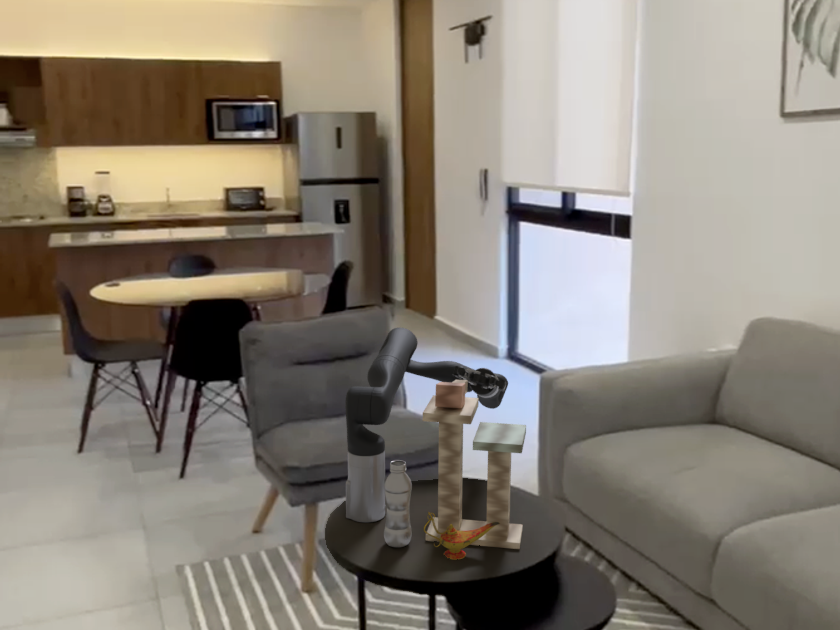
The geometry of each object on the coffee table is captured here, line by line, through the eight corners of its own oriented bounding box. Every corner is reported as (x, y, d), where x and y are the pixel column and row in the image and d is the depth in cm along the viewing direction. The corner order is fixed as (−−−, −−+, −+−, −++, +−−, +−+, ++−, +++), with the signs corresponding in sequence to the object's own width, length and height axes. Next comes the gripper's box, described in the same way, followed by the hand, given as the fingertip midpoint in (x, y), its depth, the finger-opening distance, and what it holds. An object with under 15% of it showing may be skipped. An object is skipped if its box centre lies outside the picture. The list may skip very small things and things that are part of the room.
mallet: (435, 406, 193) (435, 384, 193) (449, 395, 215) (450, 375, 215) (461, 408, 192) (462, 386, 192) (473, 396, 214) (473, 376, 214)
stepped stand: (421, 544, 198) (422, 412, 192) (432, 518, 212) (433, 395, 206) (518, 553, 194) (522, 419, 188) (523, 526, 208) (526, 400, 201)
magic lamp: (504, 556, 193) (505, 511, 190) (426, 564, 189) (427, 518, 187) (494, 543, 199) (496, 498, 197) (420, 550, 195) (420, 505, 193)
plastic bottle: (379, 548, 196) (378, 466, 193) (391, 535, 203) (391, 456, 199) (404, 553, 194) (405, 470, 190) (416, 540, 200) (416, 460, 196)
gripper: (505, 403, 236) (497, 396, 220) (457, 388, 240) (446, 380, 224) (513, 377, 237) (505, 369, 221) (465, 363, 241) (454, 353, 225)
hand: (475, 375), depth 223 cm, fingers open, 8 cm apart
